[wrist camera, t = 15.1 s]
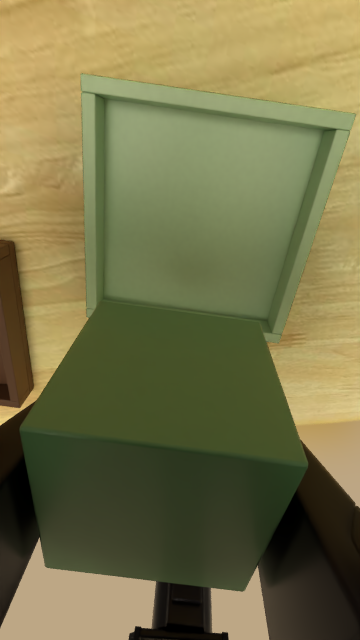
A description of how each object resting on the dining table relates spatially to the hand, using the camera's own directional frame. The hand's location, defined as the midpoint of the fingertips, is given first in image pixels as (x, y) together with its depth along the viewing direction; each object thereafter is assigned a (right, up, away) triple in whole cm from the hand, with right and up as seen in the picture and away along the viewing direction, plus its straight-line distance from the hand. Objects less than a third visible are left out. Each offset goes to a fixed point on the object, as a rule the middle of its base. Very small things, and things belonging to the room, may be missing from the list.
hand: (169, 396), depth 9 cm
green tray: (+1, +7, +8) cm, 11 cm away
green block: (0, +1, +1) cm, 1 cm away
